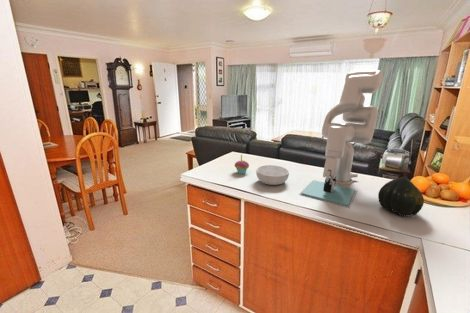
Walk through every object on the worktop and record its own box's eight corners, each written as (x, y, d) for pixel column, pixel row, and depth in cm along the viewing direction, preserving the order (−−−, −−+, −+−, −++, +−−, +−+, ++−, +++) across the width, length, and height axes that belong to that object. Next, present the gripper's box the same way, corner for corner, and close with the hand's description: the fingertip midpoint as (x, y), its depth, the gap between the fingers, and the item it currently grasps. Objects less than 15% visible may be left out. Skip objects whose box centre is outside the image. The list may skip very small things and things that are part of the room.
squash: (395, 209, 86) (423, 179, 86) (365, 194, 100) (388, 167, 100) (413, 229, 91) (439, 200, 91) (382, 211, 105) (404, 186, 105)
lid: (313, 181, 125) (315, 171, 124) (355, 190, 114) (357, 179, 113) (301, 194, 109) (302, 183, 108) (347, 206, 98) (349, 194, 97)
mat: (312, 181, 127) (312, 180, 126) (357, 191, 115) (357, 190, 115) (298, 195, 109) (298, 194, 109) (349, 209, 97) (349, 208, 97)
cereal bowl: (249, 181, 125) (249, 169, 123) (269, 174, 135) (270, 163, 134) (274, 192, 113) (275, 178, 111) (294, 183, 123) (295, 170, 122)
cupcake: (247, 175, 134) (248, 155, 130) (233, 174, 135) (233, 154, 132) (249, 170, 142) (250, 151, 138) (235, 169, 143) (236, 150, 140)
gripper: (330, 148, 115) (325, 181, 120) (320, 155, 101) (316, 192, 106) (346, 150, 111) (341, 184, 116) (339, 158, 97) (333, 197, 102)
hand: (329, 188), depth 111 cm, fingers open, 8 cm apart
